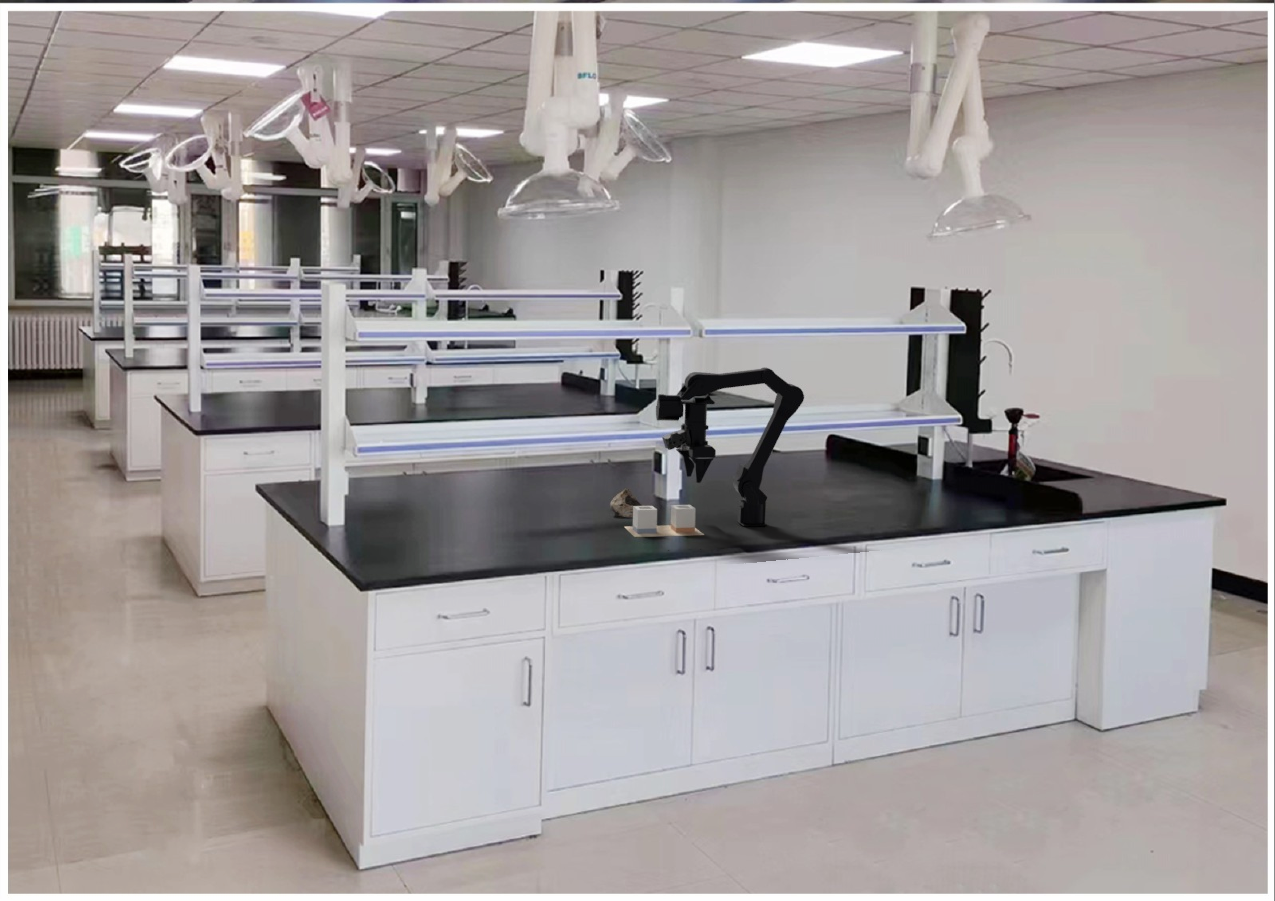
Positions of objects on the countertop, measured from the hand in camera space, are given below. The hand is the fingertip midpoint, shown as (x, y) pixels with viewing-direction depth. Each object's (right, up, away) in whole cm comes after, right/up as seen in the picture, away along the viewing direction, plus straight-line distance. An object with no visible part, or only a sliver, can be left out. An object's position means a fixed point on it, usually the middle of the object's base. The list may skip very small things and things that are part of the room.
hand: (693, 479), depth 335 cm
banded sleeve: (-3, -13, -11) cm, 17 cm away
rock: (-17, -11, +6) cm, 21 cm away
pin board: (-8, -14, -12) cm, 20 cm away
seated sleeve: (-13, -13, -14) cm, 23 cm away
